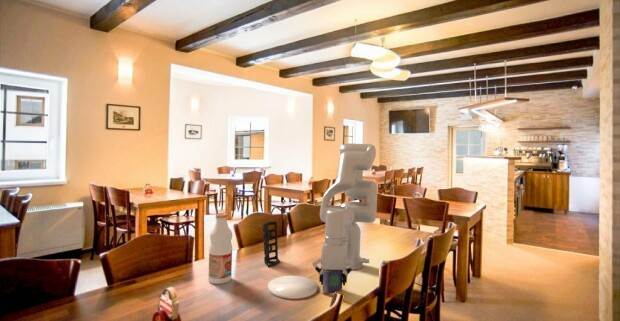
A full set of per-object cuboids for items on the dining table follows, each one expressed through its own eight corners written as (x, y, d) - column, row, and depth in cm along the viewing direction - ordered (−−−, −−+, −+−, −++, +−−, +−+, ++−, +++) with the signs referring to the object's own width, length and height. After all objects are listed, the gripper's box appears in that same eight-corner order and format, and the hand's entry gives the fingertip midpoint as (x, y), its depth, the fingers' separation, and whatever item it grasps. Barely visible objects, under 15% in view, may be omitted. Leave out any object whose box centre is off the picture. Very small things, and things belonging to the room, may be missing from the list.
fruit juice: (209, 276, 142) (210, 212, 141) (231, 275, 144) (233, 212, 143) (207, 285, 133) (209, 216, 132) (231, 283, 135) (233, 216, 134)
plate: (316, 279, 143) (316, 276, 143) (318, 300, 123) (318, 296, 123) (270, 277, 143) (270, 275, 143) (265, 298, 123) (265, 295, 123)
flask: (324, 295, 128) (325, 267, 127) (320, 292, 130) (321, 265, 130) (343, 290, 132) (344, 264, 132) (339, 287, 135) (340, 262, 135)
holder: (275, 267, 154) (273, 225, 154) (260, 267, 156) (258, 225, 156) (282, 260, 165) (280, 220, 165) (268, 260, 167) (265, 221, 167)
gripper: (354, 238, 134) (353, 280, 135) (312, 237, 134) (310, 279, 135) (357, 244, 127) (355, 288, 127) (313, 242, 126) (311, 287, 127)
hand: (332, 283), depth 131 cm, fingers closed on flask, 8 cm apart
